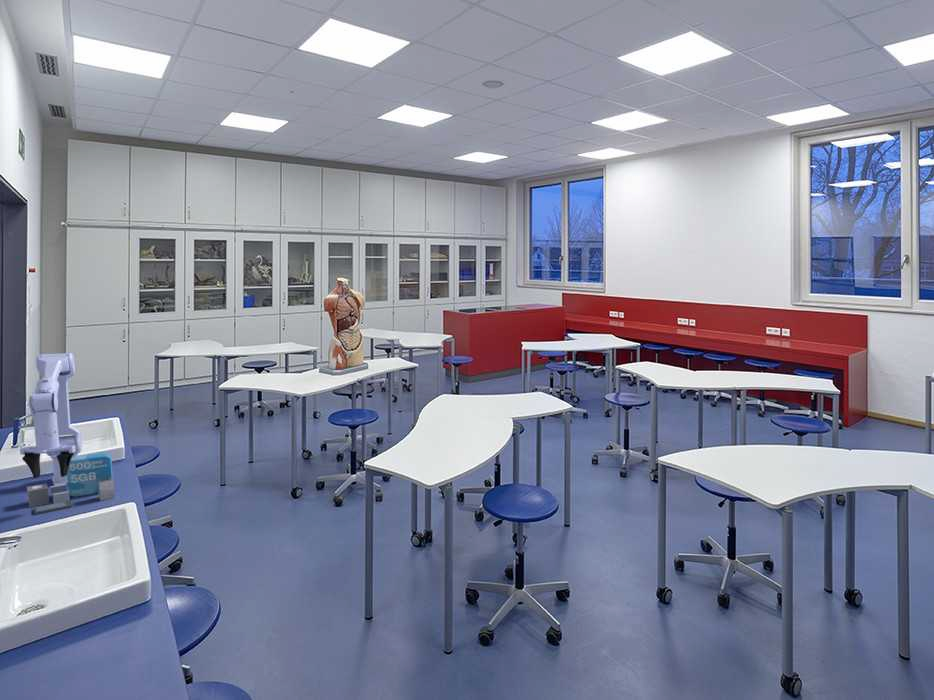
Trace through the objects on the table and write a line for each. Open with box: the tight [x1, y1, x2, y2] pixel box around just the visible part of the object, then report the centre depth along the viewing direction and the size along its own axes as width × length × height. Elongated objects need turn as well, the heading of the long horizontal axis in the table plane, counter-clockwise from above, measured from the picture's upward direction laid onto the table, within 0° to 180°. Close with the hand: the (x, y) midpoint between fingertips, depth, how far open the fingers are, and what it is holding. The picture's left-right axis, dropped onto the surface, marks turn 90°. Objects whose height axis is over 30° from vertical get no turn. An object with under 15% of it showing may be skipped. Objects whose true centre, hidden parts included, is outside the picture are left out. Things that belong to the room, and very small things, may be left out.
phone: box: [33, 500, 73, 516], centre depth 179 cm, size 5×9×1 cm, turn 129°
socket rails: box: [49, 484, 71, 504], centre depth 187 cm, size 9×4×3 cm, turn 39°
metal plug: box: [97, 476, 116, 502], centre depth 187 cm, size 4×4×6 cm
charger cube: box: [26, 483, 50, 508], centre depth 183 cm, size 5×5×5 cm
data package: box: [67, 452, 114, 498], centre depth 191 cm, size 12×4×12 cm, turn 118°
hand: (50, 476), depth 179 cm, fingers open, 7 cm apart
